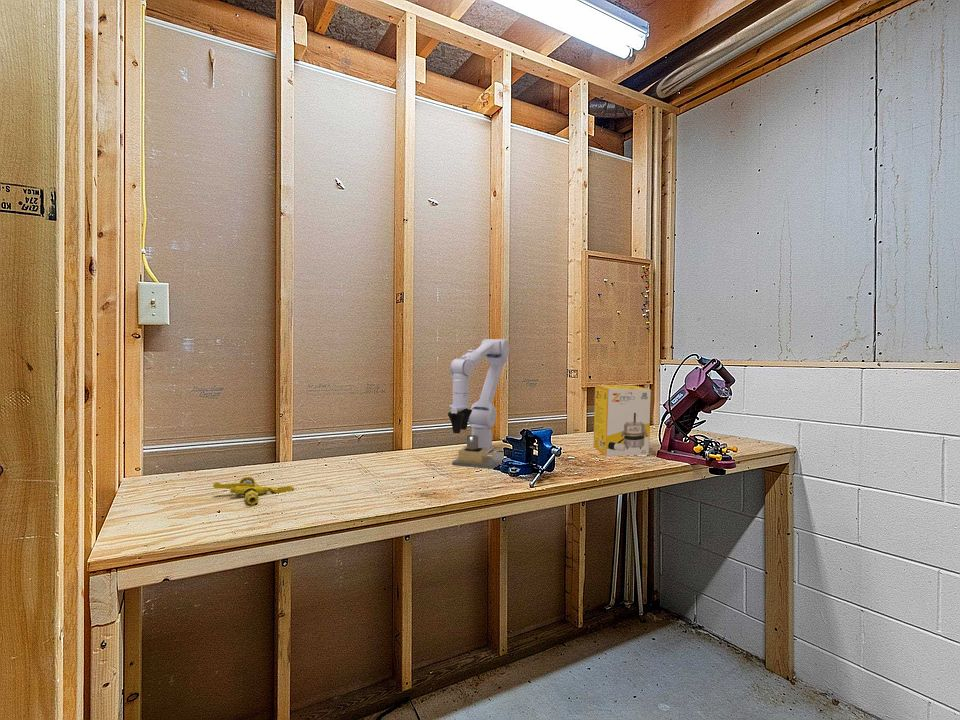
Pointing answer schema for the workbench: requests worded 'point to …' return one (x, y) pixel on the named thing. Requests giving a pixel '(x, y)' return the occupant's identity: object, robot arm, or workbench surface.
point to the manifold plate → (479, 458)
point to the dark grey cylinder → (472, 443)
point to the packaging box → (622, 420)
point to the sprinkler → (250, 489)
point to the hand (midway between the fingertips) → (459, 431)
